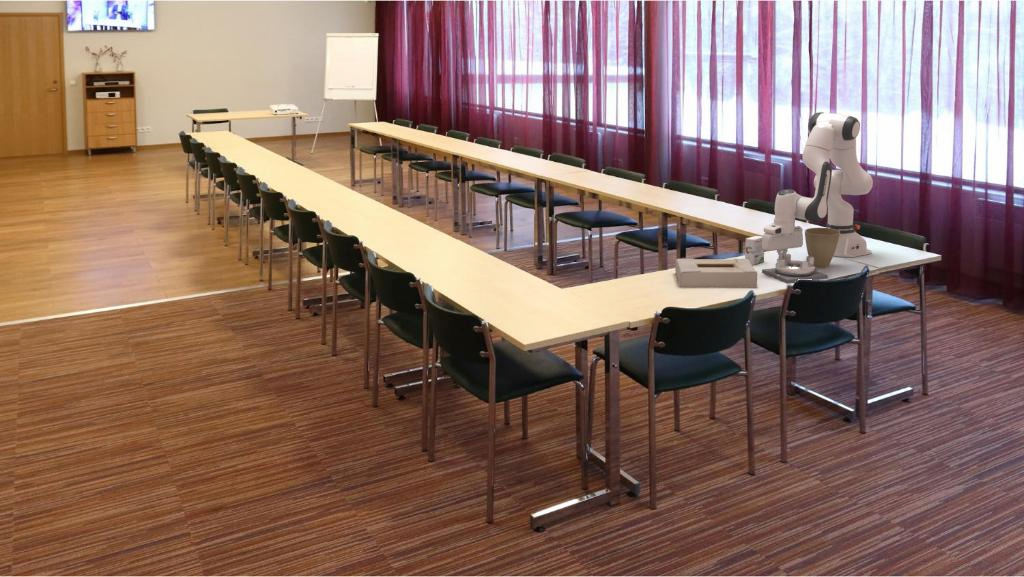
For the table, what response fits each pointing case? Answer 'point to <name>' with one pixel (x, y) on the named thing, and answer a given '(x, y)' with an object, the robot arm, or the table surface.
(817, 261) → the plant pot
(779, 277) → the stud plate
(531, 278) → the table surface
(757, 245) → the ink box
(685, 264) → the box
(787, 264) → the ring nut
